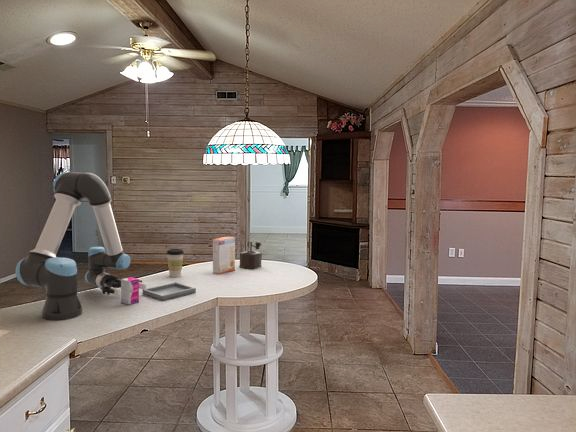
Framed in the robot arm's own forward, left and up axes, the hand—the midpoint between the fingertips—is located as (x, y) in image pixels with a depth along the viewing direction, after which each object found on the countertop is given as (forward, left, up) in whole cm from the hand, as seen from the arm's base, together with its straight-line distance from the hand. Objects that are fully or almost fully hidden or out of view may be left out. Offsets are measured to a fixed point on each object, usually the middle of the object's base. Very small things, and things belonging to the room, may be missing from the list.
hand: (132, 289), depth 209 cm
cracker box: (+73, +17, -7) cm, 76 cm away
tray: (+21, +1, -6) cm, 22 cm away
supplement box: (-1, +1, -7) cm, 7 cm away
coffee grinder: (+94, +12, -7) cm, 96 cm away
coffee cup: (+46, +29, -7) cm, 56 cm away
